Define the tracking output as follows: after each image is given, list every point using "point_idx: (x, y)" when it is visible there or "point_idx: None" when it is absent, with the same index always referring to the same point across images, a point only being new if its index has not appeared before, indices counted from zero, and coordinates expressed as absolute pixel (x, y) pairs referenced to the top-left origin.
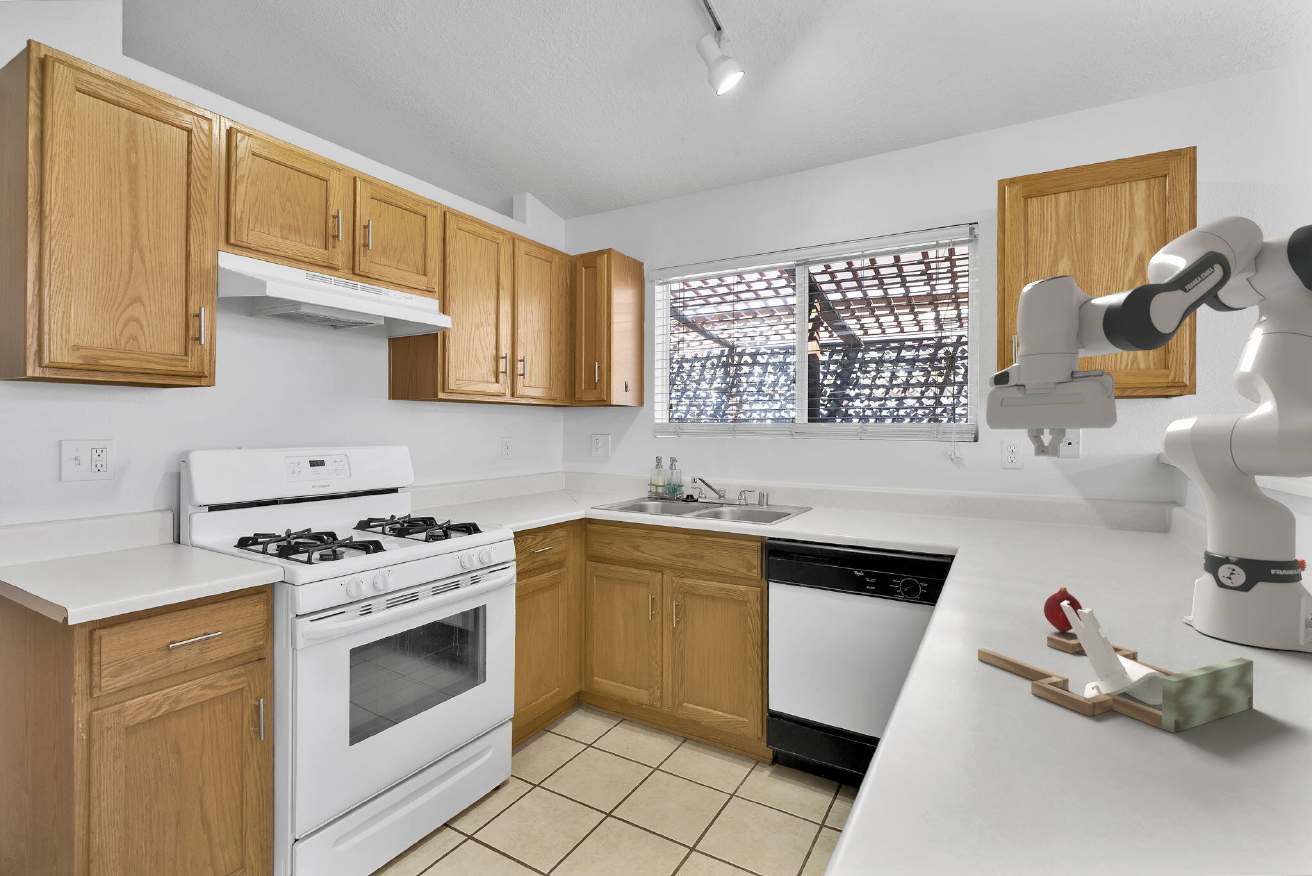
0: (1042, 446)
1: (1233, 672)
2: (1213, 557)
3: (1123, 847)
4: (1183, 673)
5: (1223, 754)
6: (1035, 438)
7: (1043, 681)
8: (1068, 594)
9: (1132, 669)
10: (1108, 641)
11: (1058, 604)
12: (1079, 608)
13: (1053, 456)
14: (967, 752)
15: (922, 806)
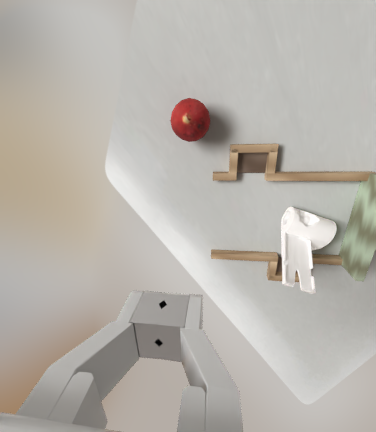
0: (158, 355)
1: None
2: None
3: (358, 358)
4: (364, 262)
5: None
6: (104, 387)
7: (272, 274)
8: (194, 120)
9: (316, 240)
10: (312, 263)
11: (194, 137)
12: (207, 118)
13: (202, 313)
14: (288, 347)
15: (302, 380)
